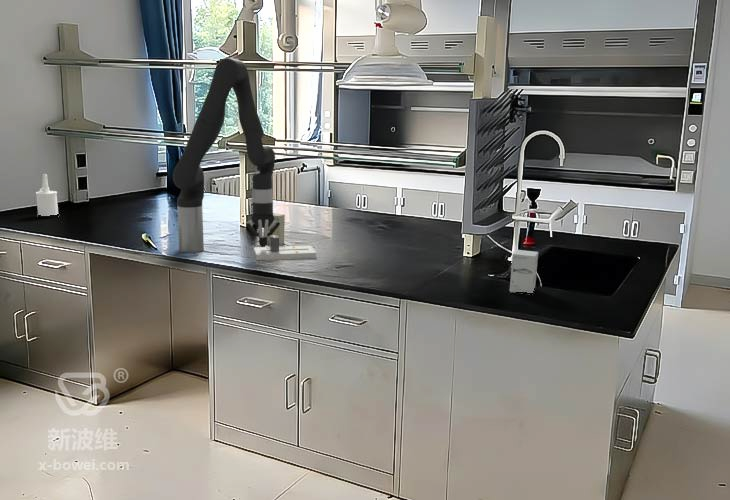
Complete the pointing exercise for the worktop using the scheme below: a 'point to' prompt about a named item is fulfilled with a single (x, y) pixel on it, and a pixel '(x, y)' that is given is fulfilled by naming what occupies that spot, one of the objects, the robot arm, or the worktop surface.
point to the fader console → (284, 252)
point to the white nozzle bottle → (46, 199)
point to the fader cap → (274, 243)
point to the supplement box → (523, 271)
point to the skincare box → (280, 229)
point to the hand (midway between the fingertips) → (263, 246)
